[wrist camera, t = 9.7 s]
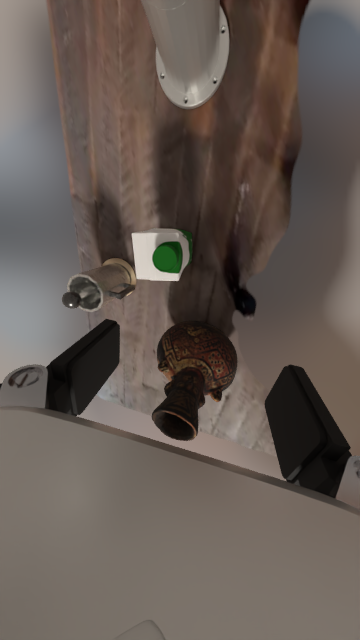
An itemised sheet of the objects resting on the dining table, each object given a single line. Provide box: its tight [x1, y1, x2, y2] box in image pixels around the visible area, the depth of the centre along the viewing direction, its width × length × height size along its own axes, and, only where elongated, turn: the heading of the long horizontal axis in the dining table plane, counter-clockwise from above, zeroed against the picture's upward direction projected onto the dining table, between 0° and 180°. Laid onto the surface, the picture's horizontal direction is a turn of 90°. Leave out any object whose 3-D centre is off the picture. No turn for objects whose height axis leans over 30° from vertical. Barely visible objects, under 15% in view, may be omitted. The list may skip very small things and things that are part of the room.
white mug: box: [67, 263, 135, 312], centre depth 46 cm, size 8×11×14 cm
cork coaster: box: [102, 258, 136, 296], centre depth 53 cm, size 11×11×1 cm
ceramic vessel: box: [152, 321, 237, 441], centre depth 43 cm, size 21×18×30 cm
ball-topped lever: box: [62, 286, 99, 308], centre depth 42 cm, size 6×6×15 cm
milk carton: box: [132, 228, 192, 281], centre depth 38 cm, size 9×9×20 cm
